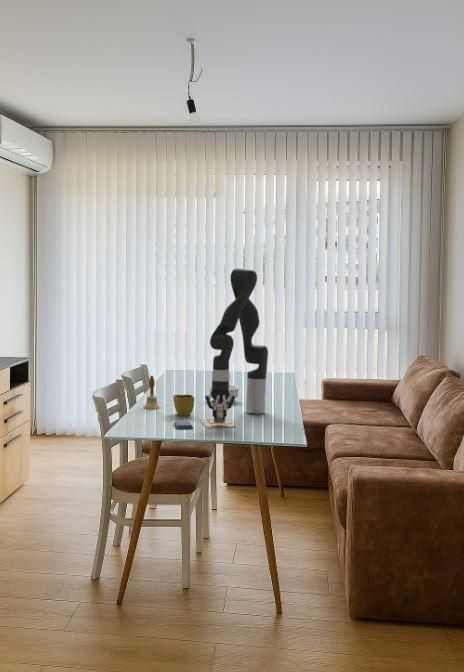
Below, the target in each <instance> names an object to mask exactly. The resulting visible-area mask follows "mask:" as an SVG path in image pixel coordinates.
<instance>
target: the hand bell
mask: <svg viewBox="0 0 464 672" xmlns="http://www.w3.org/2000/svg"><path fill="white" fill-rule="evenodd" d="M149 377H150V378H149V381H148V383H149V388H150V390H149V393H150V395H149V396H147V399H146V403H145V404H144V405H143V409H145V408H146V410H159V409H161V406H160V405H159V403H158V401H157V396H155V395H154V394H155V393H154V387H155V377H154V375H150V376H149Z"/></svg>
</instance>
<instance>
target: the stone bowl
mask: <svg viewBox="0 0 464 672" xmlns="http://www.w3.org/2000/svg"><path fill="white" fill-rule="evenodd" d="M209 387H210V388H209V395H210V394H211V392H212V385H211V386H209ZM239 390H240V389H239V387H238V386H235V385H232V384H231V385H230V384H229V393H230V394H231V395H234V396H235V399H236V398H239ZM229 401H230V399H229V397H228V398H227V400H226V402H229Z"/></svg>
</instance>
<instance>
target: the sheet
mask: <svg viewBox="0 0 464 672" xmlns="http://www.w3.org/2000/svg"><path fill="white" fill-rule="evenodd" d="M199 421H200V423H201V424H202V425H203V426H204V427H205V429H226V428H227V429H229V428H234V429H235V428H236V426H235V425H234V424H233V422H231V421H230V420H229V419H228V418H225V422H224V423H216V422H214V418H213V419H210V418H209V419H205V418H204V419H202V418H201V419H199Z"/></svg>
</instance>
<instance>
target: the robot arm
mask: <svg viewBox="0 0 464 672" xmlns="http://www.w3.org/2000/svg"><path fill="white" fill-rule="evenodd" d="M257 281H258V274H257V272H256V271H255V270H252V269H246V268H234V269H232V271H231V273H230V286H231V289H232V292H233V296H234V300H233V301H232V302H231V303H230V304H229V305H228V306H227V307H226V309H225V310H224V312H223V315H222V317H221V320H220V323H219V324H218V326H217V327H216V328H215V329H214V331H213V332H212V334H211V337H210V338H209V344H210V348H211V349H213V350H217V351H220V353H219V354H218V355H215V356H214V357H213V360H212V374H211V376H212V377H211V386H212V392H211V394H210V393H209V394H208V395H206V394H205V395H204V399H205V401H206V404H207V406H208V409H210V410H212V417H213V419H214V418H215V419H216V414H217V410H216V408H217V405H219V404H218V403H220V402H222V403H221V405H222V406H224V414H223V418H225V419H226V417H227V416H228V414H227V412H228V410H229V409H232V406H233V405H234V401H235V399H236V398H235V396H234V395H231V394H230V393H229V385H230V359H231V355H232V352H233V349H234V339H233V336H232V335H230V334H229V333H232V332H234V331H235V330H236V327H237V326H238V325H237V324H238V322H239V325H240V329H241V334H242V343H243V354H244V359H245V362H246V363H247V364H252V365H258V367H257V368H255V369H252V370H249V371H248V372H247V374H246V375H247V377H246V378H247V379H246V408H245V412H246V413H247V412H248V413H247V414H249V413H255V414H254V415H260V414H259V413H264V412H265V413H266V394H267V393H266V391H267V389H266V386H267V371H268V358H269V349H268V347H267V346H266V345H260V344H253V340H252V339H253V337H254V335H255V333H256V332H257V330H258V328H259V327H260V326H259V325H260V318H259V317H260V316H259V312H258V309H257V307H256V305H255V304H254V302H253V301H252V300H251V299H250V297H251V295H252V293H253V291H254V290H255V288H256V285H257V283H258V282H257ZM228 397H229V399H230V401H229V403H226V400H227V398H228ZM211 399H213V404H212V403H211ZM265 413H264V414H265Z"/></svg>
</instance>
